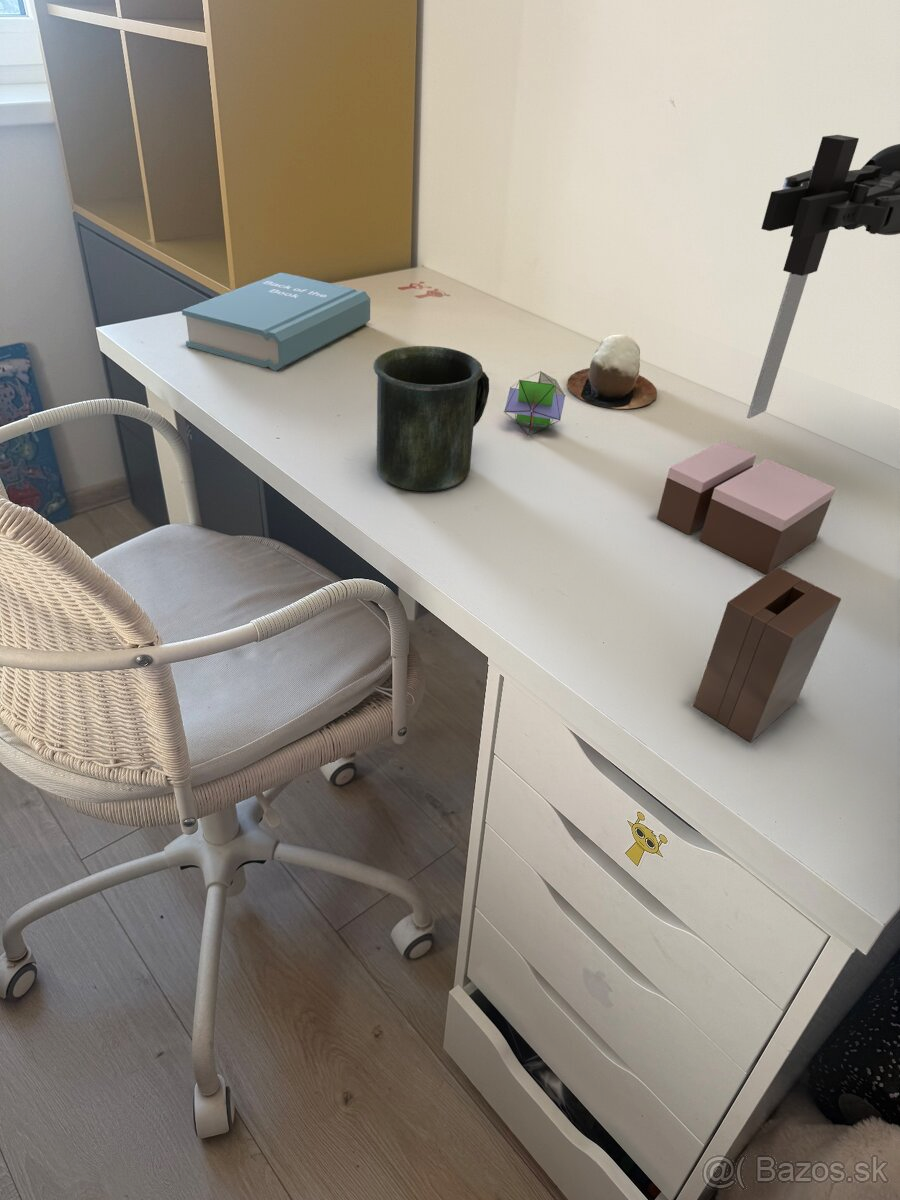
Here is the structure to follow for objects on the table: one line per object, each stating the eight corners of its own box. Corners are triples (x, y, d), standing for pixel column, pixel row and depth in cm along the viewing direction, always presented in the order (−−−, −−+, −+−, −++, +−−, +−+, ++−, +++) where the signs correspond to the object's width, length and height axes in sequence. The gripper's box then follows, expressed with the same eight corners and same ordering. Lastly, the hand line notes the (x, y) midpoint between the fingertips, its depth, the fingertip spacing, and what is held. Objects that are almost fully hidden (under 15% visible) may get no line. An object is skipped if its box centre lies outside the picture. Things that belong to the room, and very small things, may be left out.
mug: (351, 467, 90) (350, 360, 83) (446, 431, 99) (452, 331, 92) (419, 507, 84) (425, 396, 77) (514, 465, 93) (526, 361, 86)
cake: (816, 539, 84) (836, 487, 81) (766, 574, 79) (785, 520, 75) (750, 509, 88) (767, 458, 85) (699, 540, 83) (714, 487, 79)
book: (282, 304, 132) (281, 272, 129) (370, 325, 126) (370, 292, 123) (186, 346, 115) (181, 310, 112) (282, 372, 110) (280, 335, 107)
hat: (569, 358, 117) (628, 312, 112) (613, 414, 120) (673, 372, 114) (552, 386, 108) (616, 336, 102) (601, 446, 110) (665, 401, 105)
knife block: (797, 700, 65) (841, 598, 59) (750, 742, 61) (793, 638, 55) (740, 667, 67) (778, 566, 61) (692, 705, 63) (727, 602, 57)
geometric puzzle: (557, 434, 95) (570, 365, 95) (499, 425, 96) (511, 357, 96) (557, 447, 102) (568, 383, 102) (502, 438, 103) (513, 375, 103)
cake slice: (740, 504, 89) (757, 454, 86) (688, 535, 83) (703, 482, 80) (709, 489, 91) (723, 440, 88) (656, 518, 86) (669, 466, 82)
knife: (772, 413, 78) (860, 138, 64) (756, 421, 76) (843, 140, 63) (755, 407, 79) (838, 134, 65) (739, 414, 77) (820, 136, 64)
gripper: (974, 248, 75) (859, 290, 62) (822, 213, 84) (691, 243, 70) (1013, 156, 71) (899, 180, 57) (848, 128, 79) (714, 143, 66)
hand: (785, 215), depth 64 cm, fingers closed on knife, 2 cm apart
